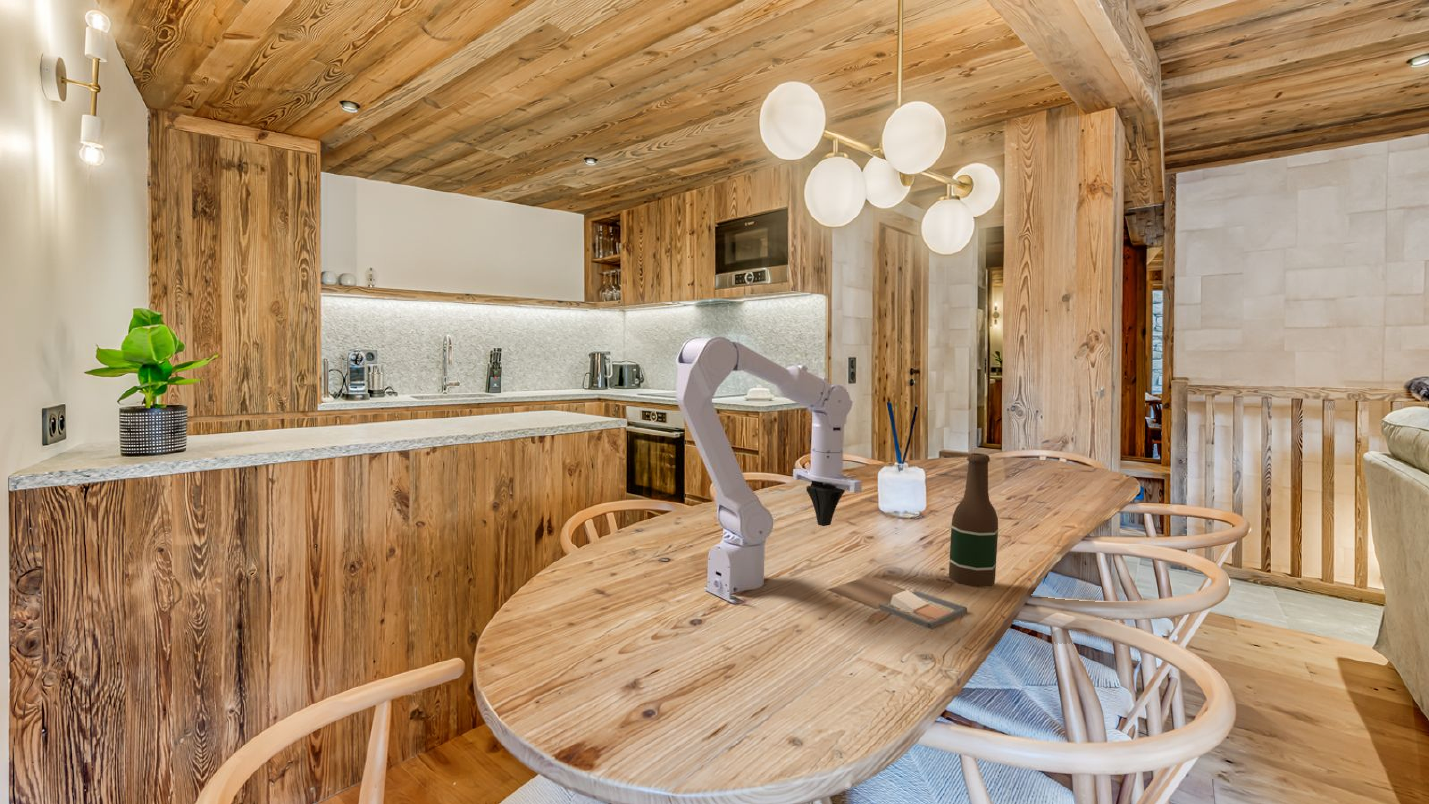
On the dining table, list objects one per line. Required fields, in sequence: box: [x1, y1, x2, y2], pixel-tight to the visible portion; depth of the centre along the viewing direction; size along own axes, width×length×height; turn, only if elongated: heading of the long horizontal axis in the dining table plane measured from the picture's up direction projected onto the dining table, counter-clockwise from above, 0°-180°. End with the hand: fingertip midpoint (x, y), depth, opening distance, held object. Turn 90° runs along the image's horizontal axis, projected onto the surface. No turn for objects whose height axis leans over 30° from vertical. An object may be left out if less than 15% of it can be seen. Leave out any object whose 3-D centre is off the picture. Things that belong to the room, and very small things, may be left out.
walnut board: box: [826, 575, 914, 610], centre depth 107 cm, size 11×10×2 cm
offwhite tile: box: [890, 589, 929, 614], centre depth 101 cm, size 4×4×2 cm
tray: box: [878, 590, 968, 629], centre depth 100 cm, size 10×9×2 cm
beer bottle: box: [948, 452, 999, 588], centre depth 113 cm, size 8×8×24 cm
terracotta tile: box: [913, 604, 952, 621], centre depth 98 cm, size 4×4×2 cm
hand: (824, 524), depth 117 cm, fingers closed
